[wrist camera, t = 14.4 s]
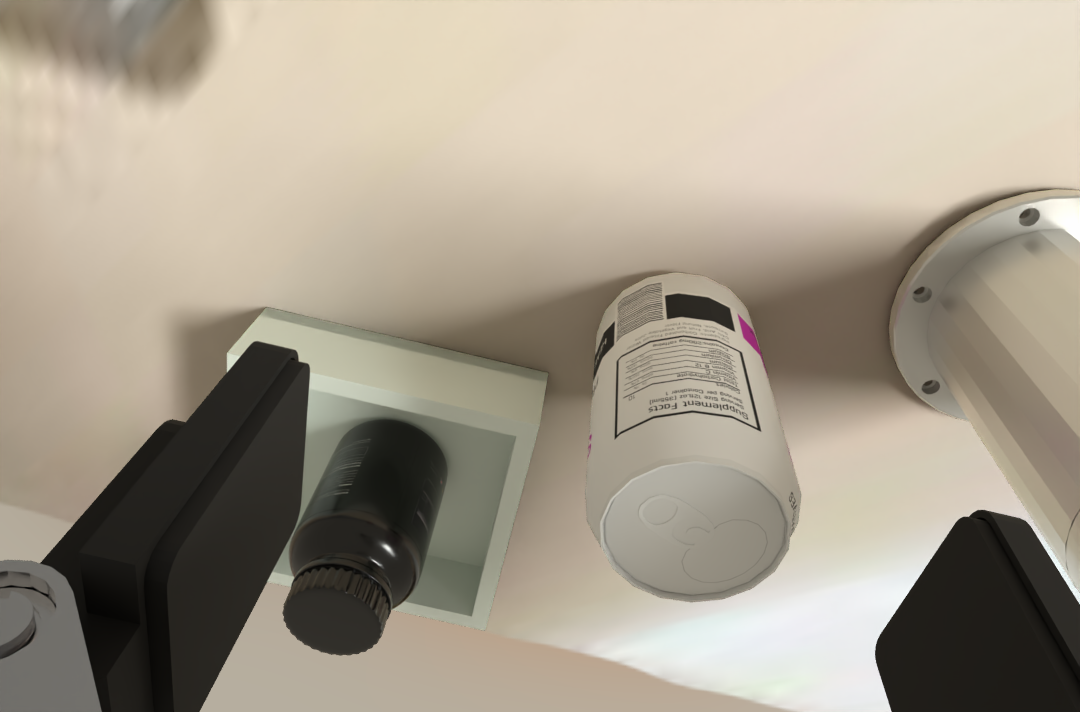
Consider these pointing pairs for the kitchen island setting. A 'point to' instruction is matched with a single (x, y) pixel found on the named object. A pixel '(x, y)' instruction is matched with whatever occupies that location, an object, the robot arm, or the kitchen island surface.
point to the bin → (441, 412)
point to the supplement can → (686, 444)
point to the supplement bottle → (364, 536)
